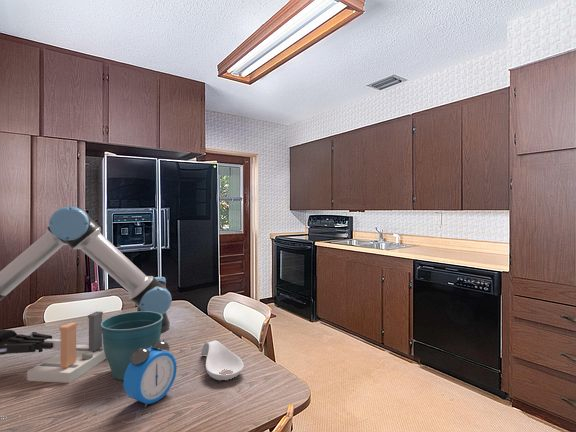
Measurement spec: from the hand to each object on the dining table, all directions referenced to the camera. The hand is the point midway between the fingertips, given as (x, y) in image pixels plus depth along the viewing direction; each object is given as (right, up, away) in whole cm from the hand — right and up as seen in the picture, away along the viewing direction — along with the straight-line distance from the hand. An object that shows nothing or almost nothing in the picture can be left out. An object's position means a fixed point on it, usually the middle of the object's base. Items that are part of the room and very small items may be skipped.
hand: (64, 344), depth 102 cm
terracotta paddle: (+1, -6, 0) cm, 6 cm away
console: (-1, -10, +6) cm, 12 cm away
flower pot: (+20, -10, +3) cm, 23 cm away
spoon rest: (+47, -10, +5) cm, 49 cm away
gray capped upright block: (+3, -6, +12) cm, 14 cm away
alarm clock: (+33, -10, -13) cm, 36 cm away
